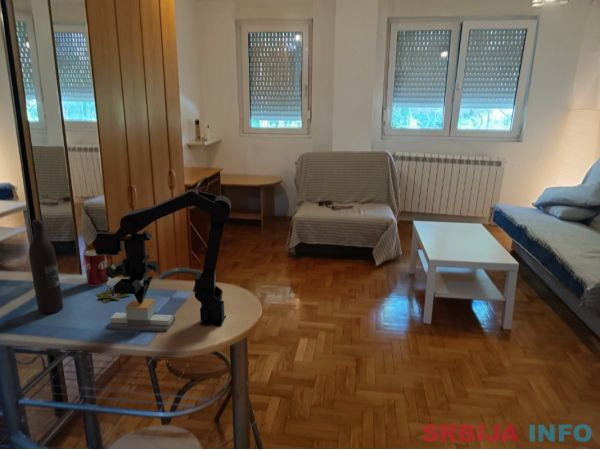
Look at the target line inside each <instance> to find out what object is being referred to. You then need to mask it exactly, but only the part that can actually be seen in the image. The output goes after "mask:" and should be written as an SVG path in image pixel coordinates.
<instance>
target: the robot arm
mask: <svg viewBox="0 0 600 450" xmlns="http://www.w3.org/2000/svg"><path fill="white" fill-rule="evenodd" d="M190 206H193V207H196V209H199V210H201V211H203V212H205V213H207V214H209V227H210V230H209V237H208V241H207V246H206V251H205V258H204V261H203V262H204V263H203V268H202V271H201V272H199V271H196V275H195V278H194V286H193V289H192V293H194V298H195V299H196V300H197V301H198V302H200V305H201V306H200V308H199V314H200V315H199V316H200V319H199V320H200V325H201V326H210V325H214V326H215V327H222V325H223V324H222V323H224V321H225V319H226V317H227V315H226V314H225V300H223V292H224V291H223V290H222V288H220V287H219V286H218V285H217V283H216V282H217V281H216V280H217V279H216V268H217V262H218V257H219V252H220V248H221V247H220V246H221V243H222V242H221V241H222V237H223V231H224V229H225V226H226V224H227V222H228V220H229V217H230V215H231V209H232V202H231V200H230V199H229V197H227V196H224V195H215V194H212V193H209V192H204V191H200V190H198V189H196V188H190V189H188V190H187V191H185V192H182V193H180V194H178V195H175V196H174V197H171V198H169V199H166V200H163V201H162V202H160V203H157V204H155V205H152V206H148V207H141V208H140V207H139V208H136V209H131V210H129V211H128V212H127V213H126V214H125V215H124V216H122V218H120V221H119V226H120V227H119V228H118V229H117V230H116V231H98V232H96V238H95V245H94V250H95V252H96V254H97V255H106V256H119V255H120V254H121V252H124V254H125V258H123V259H122V260H121V261H118V262H116V263H113V264H110V265H107V267H106V270H105V271H106V274H105V275H106V276H107V277H108V278H110V279H111V280H112V279H113V280H114V279H115V278H116V277H120V276H122V277H123V278H121V279H120V280H119V281H117V282H115V284H113V285H112V288H113V289H114V293H118V294H128V295H134V298H136V299H137V301H138V303H142V302H143V300H144V299H146V298H145V297H146V295H147V292H148V289H149V287H150V285H151V282H152V280H153V279H154V278H153V277H152V276H149V275H148V274H149V273H150V272H151V270H153V273H156V274H157V273H158V272H159V271H160V270H161V269H160V268H161V267H160V263H159V262H157V260H155V261H153V260H149V259H150V254H147V246H146V241H150V240H151V238H153V235H152V234H151V233H150V232H148V231H147V229H146V228H147V227H148V226H150V224H152V223H153V222H155V221H157V220H160V219H162V218H164V217H167V216H169V215H172V214H173V213H177V212H178V211H181V210H184V209H186V208H188V207H190ZM144 229H145V230H144ZM142 230H144V231H143V232H141V231H142ZM127 277H128V278H127ZM224 315H225V316H224Z"/></svg>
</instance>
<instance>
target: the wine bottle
mask: <svg viewBox="0 0 600 450" xmlns="http://www.w3.org/2000/svg"><path fill="white" fill-rule="evenodd" d="M43 223H44V222H43V220H42V219H33V220H32V222H31V227H32V228H33V229H32V230H33V237H32V240H31V242H30V245H29V249H28V255H29V256H28V257H29V263H30V269H31V274H32V282H33V287H34V294H35V299H36V305H37V311H38V312H39V314H41V315H51V314H56V313H58V312H59V311H62V310H63V309H64V302H63V297H62V289H61V283H60V275H59V269H58V263H57V256H56V251H55V248H54V245H53V244H52V242H51V241H50V240H49V239H48V237H47V236H46V234H45V232H44V228H43V227H44V226H43V225H44V224H43Z"/></svg>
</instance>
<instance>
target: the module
mask: <svg viewBox="0 0 600 450" xmlns="http://www.w3.org/2000/svg"><path fill="white" fill-rule="evenodd" d="M156 309H157V307H156V299H154V298H144V300H143V302H142V303H138V301H137V299H136V297H134V298H133V299H132V300H130V302H129V303H128V304H127V305H126V306H125V313H126V316H127V325H131V326H149V325H150V322H149V319H150V317H151V316H152V315H153V314H157V311H156Z"/></svg>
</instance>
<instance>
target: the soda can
mask: <svg viewBox="0 0 600 450" xmlns="http://www.w3.org/2000/svg"><path fill="white" fill-rule="evenodd" d="M83 260H84V268H85V275H86V284H87V285H88V286H90V287H101V286H104V285H107V283H108V282H109V280H110V279H109V277H107V276H106V275H105V274H106V271H105V270H106V267H108V263H107V255H97V254H96V252H95V249H90V250H88V251H85V252H84V253H83Z"/></svg>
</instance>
